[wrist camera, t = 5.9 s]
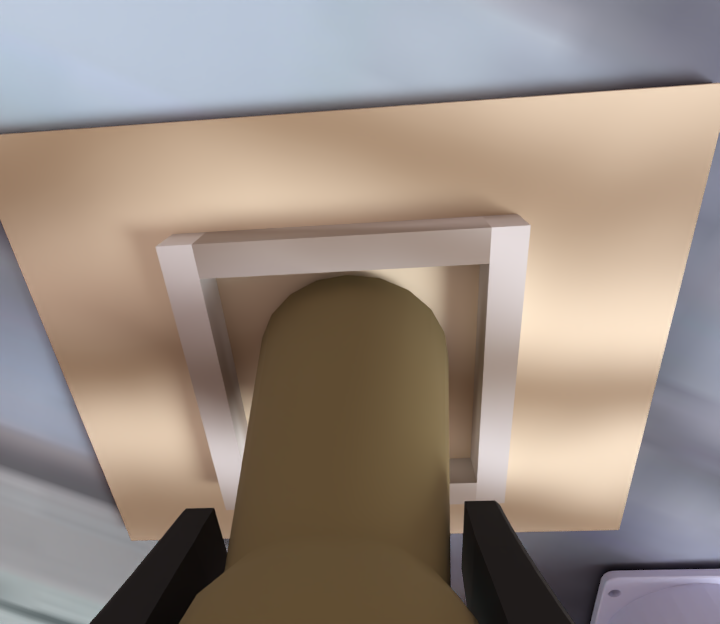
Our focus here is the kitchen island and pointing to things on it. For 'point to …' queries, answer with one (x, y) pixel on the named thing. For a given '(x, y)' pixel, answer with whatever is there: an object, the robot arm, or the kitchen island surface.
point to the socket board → (370, 259)
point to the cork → (343, 468)
